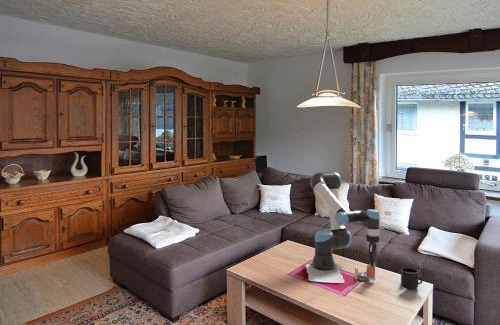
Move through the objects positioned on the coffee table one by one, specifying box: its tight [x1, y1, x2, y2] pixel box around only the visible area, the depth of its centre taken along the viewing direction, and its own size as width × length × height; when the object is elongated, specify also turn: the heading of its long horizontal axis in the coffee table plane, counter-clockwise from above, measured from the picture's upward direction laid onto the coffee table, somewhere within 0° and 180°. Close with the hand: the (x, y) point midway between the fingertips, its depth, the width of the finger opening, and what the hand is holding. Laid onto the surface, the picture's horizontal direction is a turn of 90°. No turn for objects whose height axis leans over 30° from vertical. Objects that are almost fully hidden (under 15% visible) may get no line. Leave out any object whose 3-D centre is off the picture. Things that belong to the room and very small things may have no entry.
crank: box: [358, 264, 376, 281], centre depth 215 cm, size 10×4×8 cm, turn 37°
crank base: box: [354, 267, 371, 282], centre depth 217 cm, size 9×11×8 cm
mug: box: [400, 267, 423, 289], centre depth 206 cm, size 9×12×9 cm
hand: (372, 272), depth 215 cm, fingers closed
